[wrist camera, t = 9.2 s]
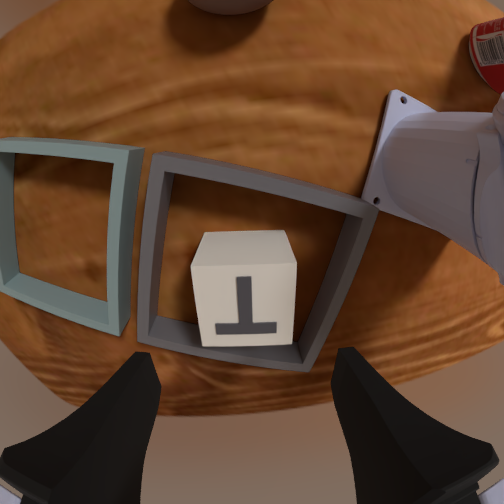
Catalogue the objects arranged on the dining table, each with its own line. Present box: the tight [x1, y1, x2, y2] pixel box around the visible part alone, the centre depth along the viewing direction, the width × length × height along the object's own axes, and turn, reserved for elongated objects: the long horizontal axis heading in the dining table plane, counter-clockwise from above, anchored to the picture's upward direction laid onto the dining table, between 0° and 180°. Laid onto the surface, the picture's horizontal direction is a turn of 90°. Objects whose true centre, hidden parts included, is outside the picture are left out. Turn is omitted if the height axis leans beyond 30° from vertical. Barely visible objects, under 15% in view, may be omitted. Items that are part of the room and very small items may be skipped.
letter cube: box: [191, 230, 297, 346], centre depth 16 cm, size 5×5×5 cm
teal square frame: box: [0, 137, 145, 336], centre depth 16 cm, size 13×13×2 cm
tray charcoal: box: [137, 151, 379, 372], centre depth 18 cm, size 13×13×2 cm
